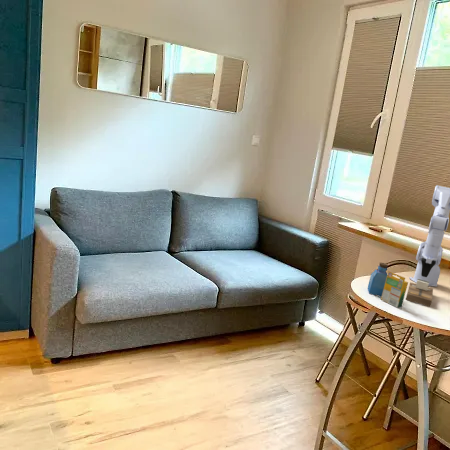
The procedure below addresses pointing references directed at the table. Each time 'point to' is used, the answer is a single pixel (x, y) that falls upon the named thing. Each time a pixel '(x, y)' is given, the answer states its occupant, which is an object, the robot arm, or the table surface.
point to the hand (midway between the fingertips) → (424, 276)
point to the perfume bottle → (378, 280)
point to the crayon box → (394, 290)
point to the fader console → (419, 295)
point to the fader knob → (422, 284)
